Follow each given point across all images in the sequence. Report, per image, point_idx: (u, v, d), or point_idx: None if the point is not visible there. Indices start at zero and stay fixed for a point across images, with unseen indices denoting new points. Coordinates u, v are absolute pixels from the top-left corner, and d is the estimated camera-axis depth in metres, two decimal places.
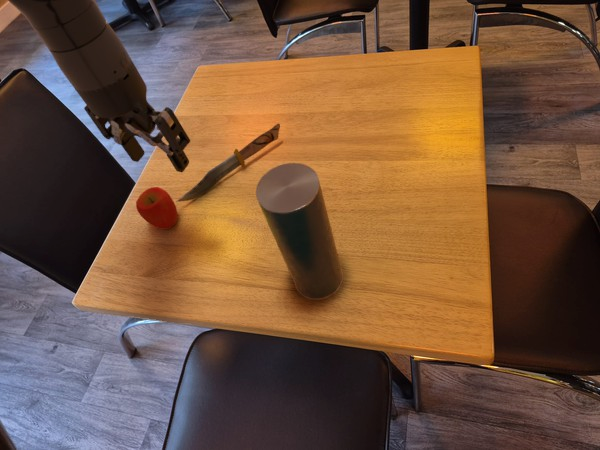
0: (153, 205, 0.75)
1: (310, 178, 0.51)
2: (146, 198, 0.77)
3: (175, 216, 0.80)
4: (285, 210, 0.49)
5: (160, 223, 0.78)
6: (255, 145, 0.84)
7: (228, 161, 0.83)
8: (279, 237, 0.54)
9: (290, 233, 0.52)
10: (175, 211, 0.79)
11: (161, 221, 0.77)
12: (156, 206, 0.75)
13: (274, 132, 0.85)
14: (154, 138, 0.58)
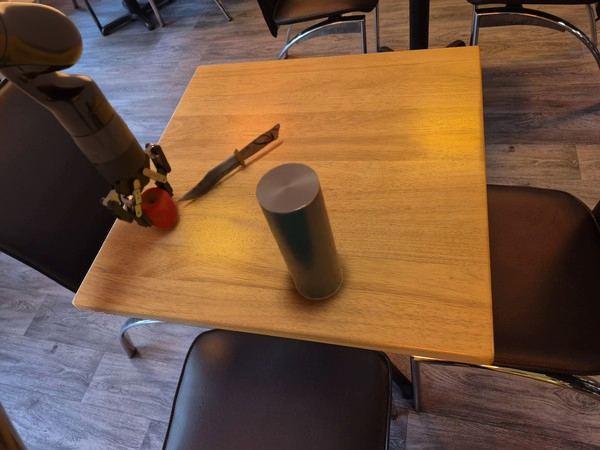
0: (153, 205, 0.75)
1: (310, 178, 0.51)
2: (146, 198, 0.77)
3: (175, 216, 0.80)
4: (285, 210, 0.49)
5: (160, 222, 0.78)
6: (255, 145, 0.84)
7: (228, 161, 0.83)
8: (279, 237, 0.54)
9: (290, 233, 0.52)
10: (175, 211, 0.79)
11: (161, 221, 0.77)
12: (156, 206, 0.75)
13: (274, 132, 0.85)
14: (122, 198, 0.73)
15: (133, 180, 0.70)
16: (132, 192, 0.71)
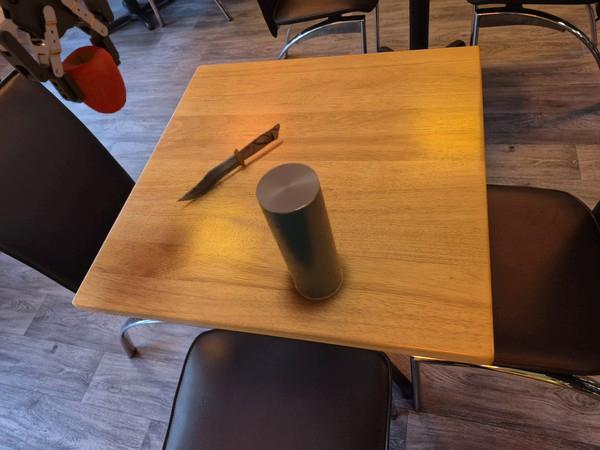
0: (83, 64, 0.49)
1: (310, 178, 0.51)
2: (75, 59, 0.51)
3: (122, 93, 0.53)
4: (285, 210, 0.49)
5: (97, 97, 0.51)
6: (255, 145, 0.84)
7: (228, 161, 0.83)
8: (279, 237, 0.54)
9: (290, 233, 0.52)
10: (122, 84, 0.53)
11: (98, 94, 0.51)
12: (88, 66, 0.49)
13: (274, 132, 0.85)
14: (31, 45, 0.46)
15: (43, 6, 0.44)
16: (43, 29, 0.44)
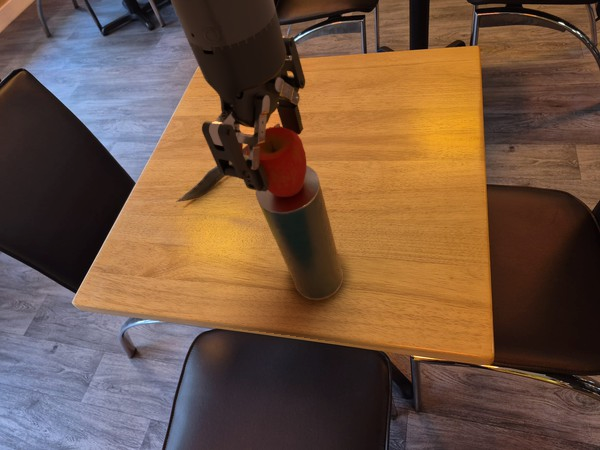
0: (280, 153, 0.44)
1: (310, 178, 0.51)
2: (263, 144, 0.46)
3: (304, 176, 0.49)
4: (285, 210, 0.49)
5: (286, 185, 0.47)
6: None
7: None
8: (279, 237, 0.54)
9: (290, 233, 0.52)
10: None
11: (288, 182, 0.46)
12: (286, 155, 0.44)
13: None
14: None
15: (261, 96, 0.39)
16: (255, 119, 0.39)
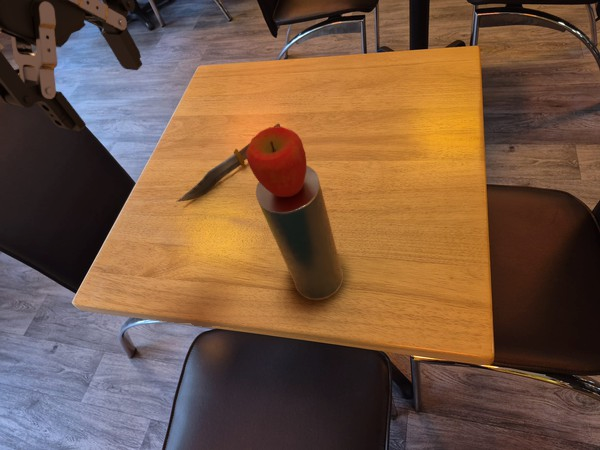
0: (280, 153, 0.44)
1: (310, 178, 0.51)
2: (263, 144, 0.46)
3: (304, 176, 0.49)
4: (285, 210, 0.49)
5: (286, 185, 0.47)
6: None
7: (228, 161, 0.83)
8: (279, 237, 0.54)
9: (290, 233, 0.52)
10: None
11: (288, 182, 0.46)
12: (286, 155, 0.44)
13: None
14: (16, 54, 0.34)
15: (39, 2, 0.32)
16: (35, 32, 0.32)
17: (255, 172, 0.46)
